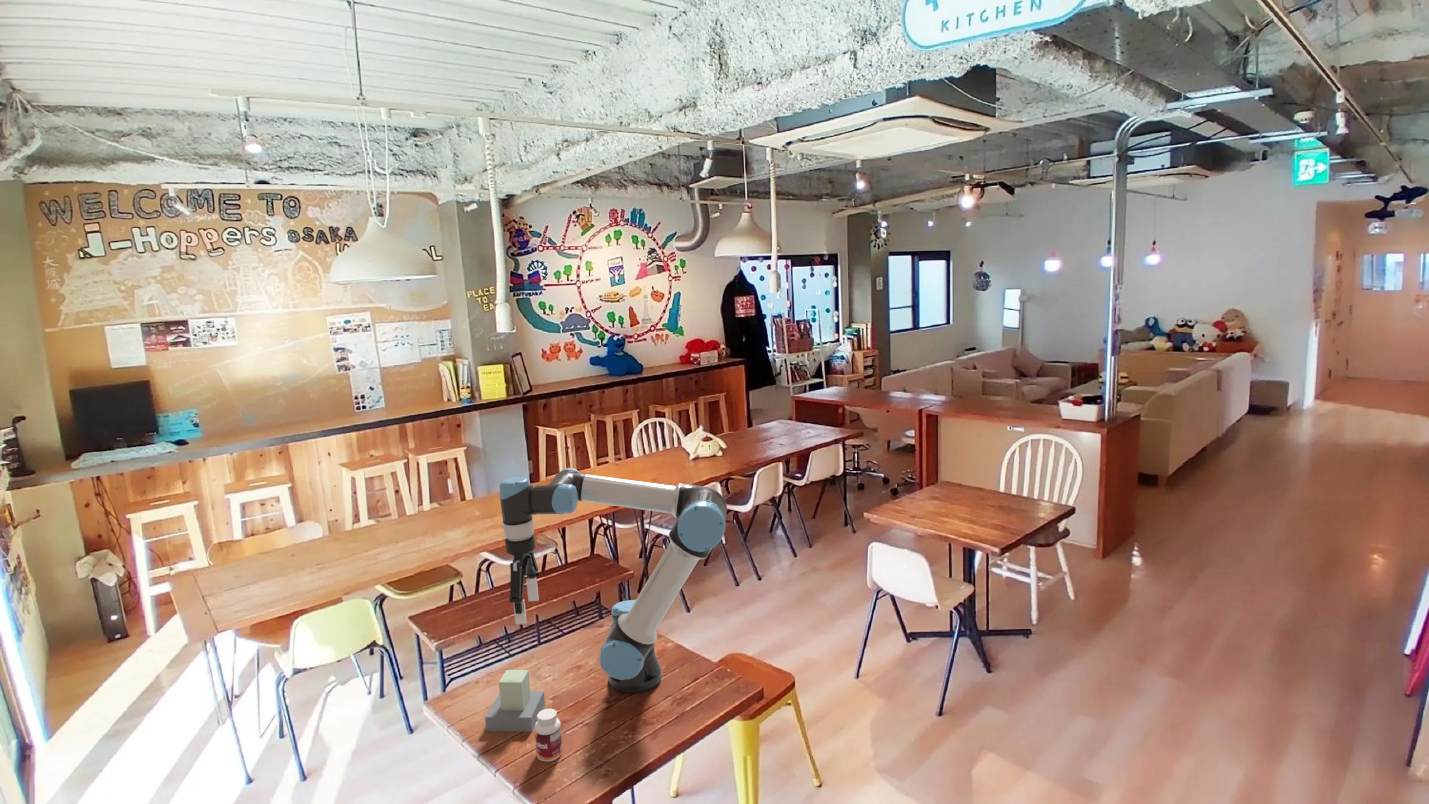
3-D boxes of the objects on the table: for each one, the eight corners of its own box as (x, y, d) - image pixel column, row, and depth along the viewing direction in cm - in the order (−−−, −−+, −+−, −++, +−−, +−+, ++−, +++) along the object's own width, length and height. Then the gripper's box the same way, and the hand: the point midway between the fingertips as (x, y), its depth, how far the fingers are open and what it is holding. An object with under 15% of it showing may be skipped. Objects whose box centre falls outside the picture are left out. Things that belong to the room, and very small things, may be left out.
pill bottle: (531, 755, 181) (528, 715, 179) (551, 743, 185) (549, 703, 183) (547, 766, 177) (544, 724, 175) (567, 753, 181) (564, 712, 179)
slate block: (544, 704, 202) (543, 691, 201) (532, 731, 190) (531, 717, 189) (501, 704, 203) (500, 690, 202) (486, 731, 191) (485, 717, 190)
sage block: (530, 697, 198) (528, 669, 197) (523, 710, 193) (521, 682, 191) (508, 697, 199) (506, 669, 197) (501, 710, 193) (498, 682, 191)
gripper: (517, 521, 206) (525, 592, 209) (491, 555, 181) (500, 635, 185) (544, 519, 206) (551, 590, 209) (521, 553, 181) (530, 633, 185)
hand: (527, 611), depth 197 cm, fingers open, 13 cm apart
